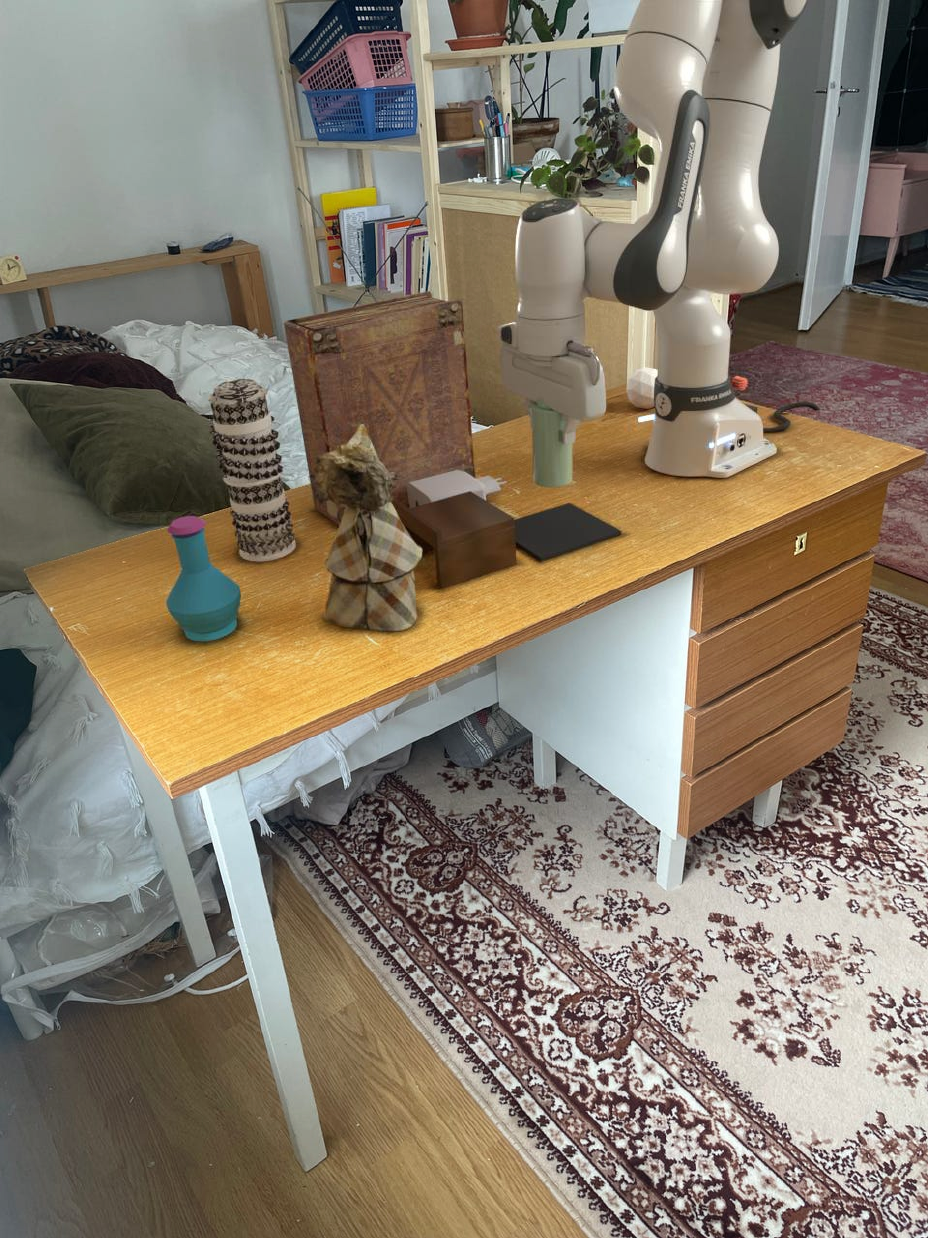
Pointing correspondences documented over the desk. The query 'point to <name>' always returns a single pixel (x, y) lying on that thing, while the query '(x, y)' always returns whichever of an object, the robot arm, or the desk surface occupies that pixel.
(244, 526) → the decorative candle
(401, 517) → the shelf
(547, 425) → the bottle
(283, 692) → the desk surface
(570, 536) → the mat
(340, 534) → the plush toy
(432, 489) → the charger
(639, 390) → the geometric ball
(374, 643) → the desk surface
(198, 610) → the perfume bottle
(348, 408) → the book
